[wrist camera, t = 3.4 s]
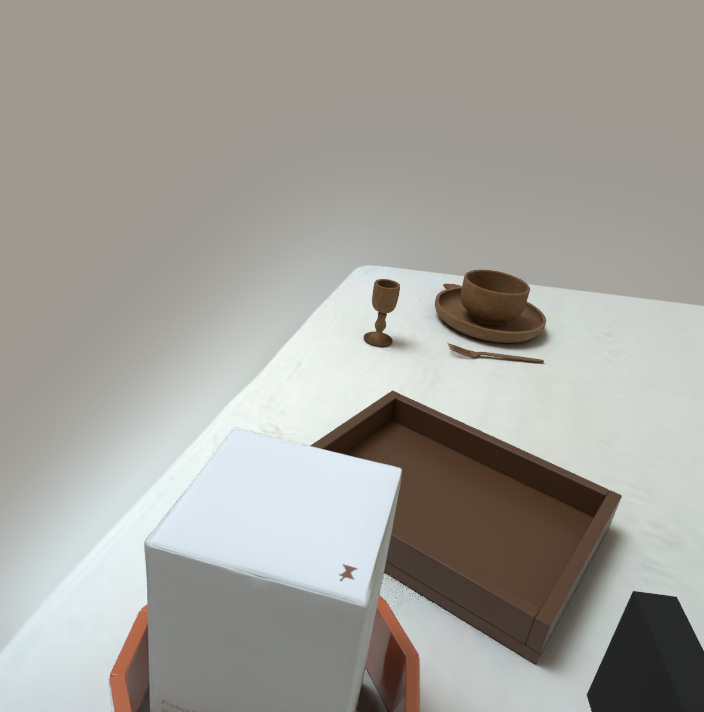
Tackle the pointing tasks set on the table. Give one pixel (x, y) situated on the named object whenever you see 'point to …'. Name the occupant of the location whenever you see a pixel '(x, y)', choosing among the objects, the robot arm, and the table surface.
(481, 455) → the tray
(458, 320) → the place setting
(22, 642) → the table surface
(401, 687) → the terracotta ring
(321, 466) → the white packaging box
